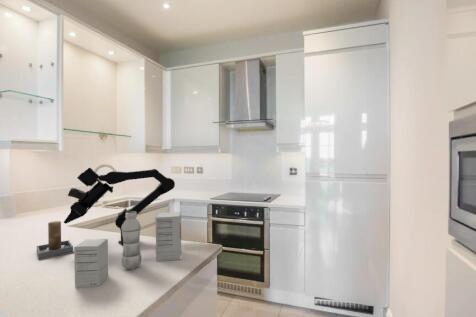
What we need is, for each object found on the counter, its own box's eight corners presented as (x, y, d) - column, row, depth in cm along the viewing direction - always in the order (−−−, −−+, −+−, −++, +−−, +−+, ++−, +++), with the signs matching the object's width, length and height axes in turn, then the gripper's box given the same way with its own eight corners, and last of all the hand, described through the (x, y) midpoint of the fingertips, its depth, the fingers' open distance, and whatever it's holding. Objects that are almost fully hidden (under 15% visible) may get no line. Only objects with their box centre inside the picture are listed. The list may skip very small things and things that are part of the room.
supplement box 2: (180, 260, 99) (179, 216, 99) (155, 261, 97) (155, 217, 97) (181, 251, 108) (181, 211, 108) (159, 252, 107) (158, 212, 107)
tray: (73, 252, 109) (73, 246, 109) (38, 259, 101) (38, 253, 101) (68, 245, 117) (68, 240, 117) (36, 251, 110) (36, 246, 110)
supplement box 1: (86, 276, 85) (85, 239, 85) (109, 275, 86) (108, 238, 86) (73, 287, 78) (73, 246, 78) (99, 286, 79) (98, 245, 79)
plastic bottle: (134, 272, 88) (134, 214, 88) (117, 270, 90) (116, 213, 90) (145, 264, 95) (144, 210, 95) (128, 263, 96) (128, 210, 96)
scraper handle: (64, 247, 113) (64, 220, 113) (61, 251, 108) (61, 223, 108) (48, 249, 111) (48, 221, 111) (44, 254, 105) (43, 224, 105)
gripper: (84, 179, 122) (57, 205, 117) (76, 183, 104) (44, 212, 100) (103, 195, 125) (77, 220, 120) (98, 201, 107) (68, 230, 103)
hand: (67, 220), depth 111 cm, fingers open, 9 cm apart
